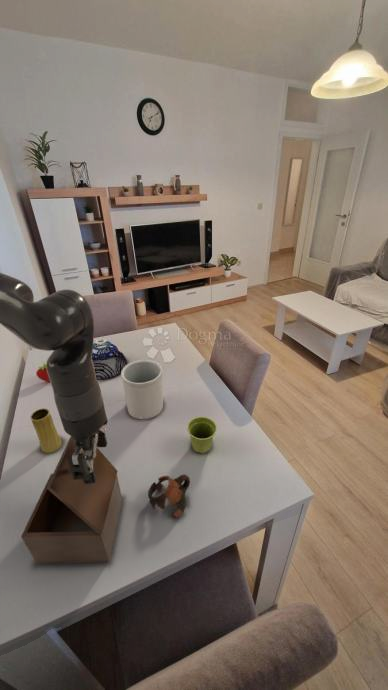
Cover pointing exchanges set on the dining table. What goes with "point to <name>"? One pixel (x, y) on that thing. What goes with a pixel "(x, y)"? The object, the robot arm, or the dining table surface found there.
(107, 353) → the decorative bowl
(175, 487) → the brown plush toy
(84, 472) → the robot arm
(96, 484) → the lid
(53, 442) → the vase
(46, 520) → the chest
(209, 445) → the plant pot
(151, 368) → the utensil holder
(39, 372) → the strawberry
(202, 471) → the dining table surface
